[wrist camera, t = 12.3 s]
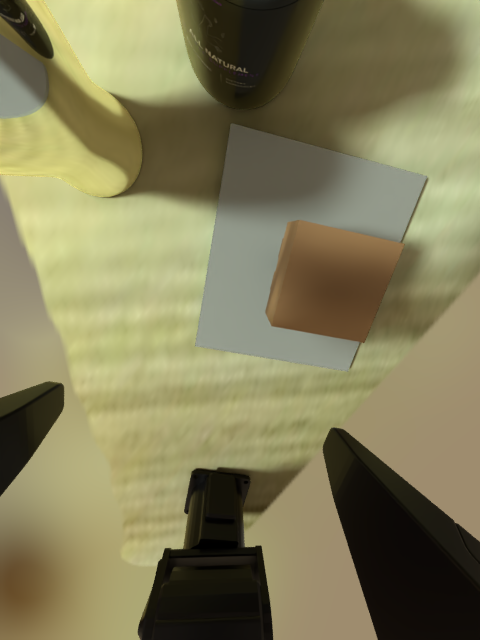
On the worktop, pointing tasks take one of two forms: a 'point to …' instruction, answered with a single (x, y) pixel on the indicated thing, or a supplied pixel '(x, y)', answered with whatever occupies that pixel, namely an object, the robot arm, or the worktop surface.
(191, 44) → the supplement bottle
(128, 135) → the beer glass
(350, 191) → the rubber mat
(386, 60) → the worktop surface
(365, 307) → the walnut stool
